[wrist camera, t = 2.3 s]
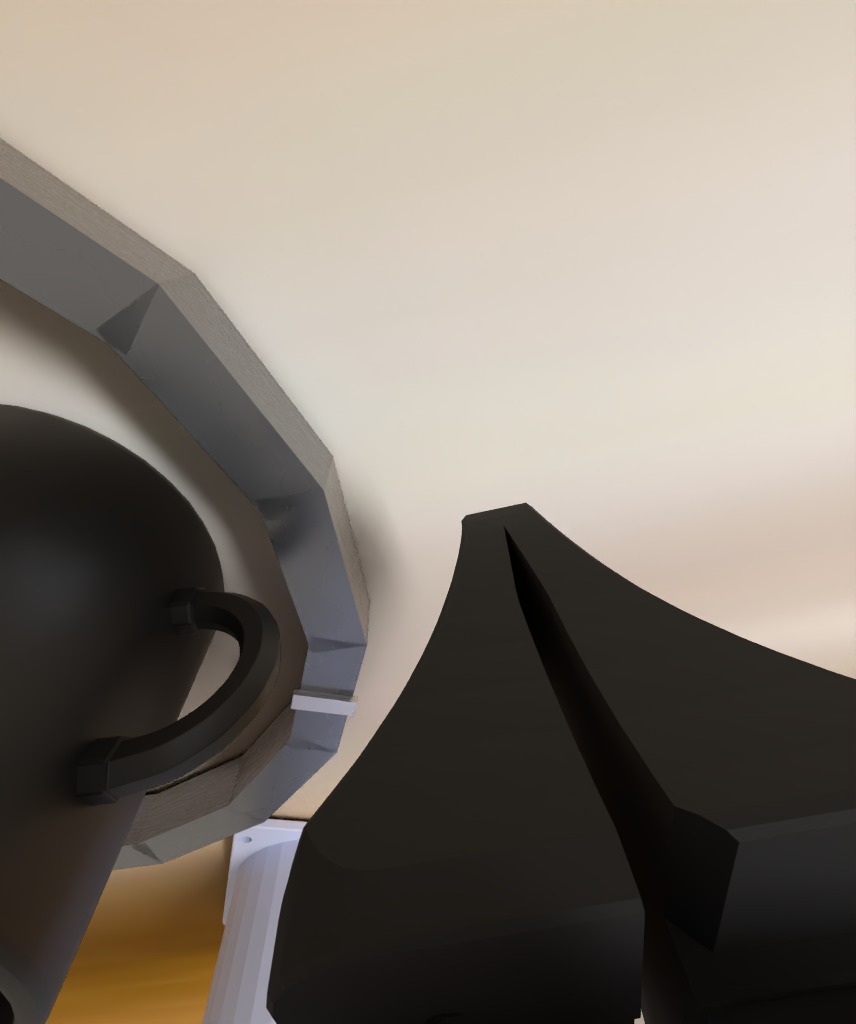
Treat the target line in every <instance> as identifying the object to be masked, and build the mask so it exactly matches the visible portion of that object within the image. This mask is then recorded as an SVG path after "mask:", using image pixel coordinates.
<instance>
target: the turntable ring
mask: <svg viewBox="0 0 856 1024" xmlns="http://www.w3.org/2000/svg"><path fill="white" fill-rule="evenodd" d="M0 279H1V280H3V281H4V282H6V283H8V284H9V285H11V286H13V287H14V288H16V289H18V290H19V291H21V292H23V293H24V294H26V295H28V296H29V297H31V298H33V299H34V300H36V301H38V302H39V303H41V304H43V305H44V306H46V307H47V308H49V309H51V310H52V311H54V312H56V313H57V314H59V315H61V316H62V317H64V318H66V319H67V320H69V321H71V322H72V323H74V324H76V325H77V326H79V327H81V328H82V329H84V330H85V331H87V332H89V333H90V334H92V335H94V336H95V337H97V338H99V339H100V340H102V341H104V342H105V343H107V344H109V345H110V346H111V347H112V348H113V349H114V351H115V352H116V353H117V354H118V355H119V356H120V357H121V358H122V359H123V361H124V362H125V363H126V364H127V365H128V366H129V367H130V368H131V369H132V370H133V372H134V373H135V374H136V375H137V376H138V377H139V378H140V379H141V380H142V381H143V383H144V384H145V385H146V386H147V387H148V388H149V389H150V390H151V391H152V393H153V394H154V395H155V396H156V397H157V398H158V399H159V400H160V401H161V402H162V404H163V405H164V406H165V407H166V408H167V409H168V410H169V411H170V412H171V413H172V415H173V416H174V417H175V418H176V419H177V420H178V421H179V422H180V423H181V425H182V426H183V427H184V428H185V429H186V430H187V431H188V432H189V433H190V434H191V436H192V437H193V438H194V439H195V440H196V441H197V442H198V443H199V444H200V445H201V447H202V448H203V449H204V450H205V451H206V452H207V453H208V454H209V455H210V457H211V458H212V459H213V460H214V461H215V462H216V463H217V464H218V465H219V466H220V468H221V469H222V470H223V471H224V472H225V473H226V474H227V475H228V476H229V477H230V479H231V480H232V481H233V482H234V483H235V484H236V485H237V486H238V487H239V489H240V490H241V491H242V492H243V493H244V494H245V495H246V496H247V497H248V498H249V500H250V501H251V502H252V503H253V504H254V505H255V506H256V507H257V508H258V509H259V511H260V512H261V514H262V517H263V520H264V523H265V525H266V528H267V531H268V534H269V536H270V539H271V542H272V545H273V548H274V550H275V553H276V556H277V559H278V561H279V564H280V567H281V570H282V572H283V575H284V578H285V581H286V583H287V586H288V589H289V592H290V594H291V597H292V600H293V603H294V606H295V608H296V611H297V614H298V617H299V619H300V622H301V625H302V628H303V630H304V633H305V636H306V639H307V641H308V644H309V646H308V651H307V656H306V662H305V667H304V672H303V677H302V682H301V687H300V690H299V689H294V694H293V699H292V702H291V703H290V704H289V705H288V706H287V707H286V708H285V709H284V710H283V711H282V713H281V714H280V715H279V716H278V717H277V718H276V719H275V720H274V721H273V723H272V724H271V725H270V726H269V727H268V728H267V729H266V730H265V731H264V732H263V734H262V735H261V736H260V737H259V738H258V739H257V740H256V741H255V742H254V744H253V745H252V746H251V747H250V748H249V749H248V750H247V751H246V752H245V753H244V755H243V756H241V757H239V758H237V759H235V760H232V761H230V762H228V763H226V764H223V765H221V766H219V767H217V768H214V769H212V770H210V771H208V772H206V773H203V774H201V775H199V776H197V777H194V778H192V779H190V780H188V781H185V782H183V783H181V784H179V785H176V786H174V787H172V788H170V789H167V790H165V791H163V792H161V793H158V794H153V795H145V796H144V798H143V800H142V802H141V804H140V807H139V809H138V811H137V814H136V816H135V818H134V821H133V823H132V825H131V828H130V830H129V832H128V835H127V837H126V839H125V841H124V844H123V846H122V848H121V851H120V853H119V855H118V858H117V860H116V862H115V865H114V867H113V869H112V870H117V869H124V868H132V867H140V866H147V865H155V864H162V863H165V862H167V861H170V860H172V859H175V858H177V857H180V856H182V855H185V854H187V853H190V852H192V851H194V850H197V849H199V848H202V847H204V846H207V845H209V844H212V843H214V842H217V841H219V840H222V839H224V838H227V837H229V836H232V835H234V834H236V833H239V832H241V831H244V830H246V829H249V828H251V827H254V826H256V825H259V824H261V823H264V822H265V821H266V820H267V819H268V818H269V817H270V816H271V815H272V814H273V813H274V812H275V811H276V810H277V809H278V808H279V807H280V806H282V805H283V804H284V803H285V802H286V801H287V800H288V799H289V798H290V797H291V796H292V795H293V794H294V793H295V792H296V791H297V790H298V789H299V788H300V787H301V786H302V785H303V784H304V783H305V782H307V781H308V780H309V779H310V778H311V777H312V776H313V775H314V774H315V773H316V772H317V771H318V770H319V769H320V768H321V767H322V766H323V765H324V764H325V763H326V762H327V761H328V760H329V759H330V758H332V757H333V756H334V755H335V754H336V753H337V750H338V747H339V743H340V739H341V736H342V732H343V729H344V725H345V721H346V718H347V715H348V716H354V712H355V709H356V705H357V699H358V697H354V696H353V693H354V689H355V686H356V682H357V678H358V675H359V671H360V668H361V664H362V660H363V657H364V653H365V650H366V646H367V636H368V620H369V605H370V600H369V596H368V592H367V588H366V584H365V580H364V576H363V572H362V568H361V564H360V561H359V557H358V553H357V549H356V545H355V541H354V537H353V533H352V529H351V525H350V521H349V517H348V514H347V510H346V506H345V502H344V498H343V494H342V490H341V486H340V482H339V478H338V474H337V471H336V467H335V463H334V459H333V456H332V454H331V453H330V452H329V450H328V449H327V448H326V446H325V445H324V444H323V442H322V441H321V440H320V439H319V437H318V436H317V435H316V433H315V432H314V431H313V429H312V428H311V427H310V425H309V424H308V423H307V421H306V420H305V419H304V417H303V416H302V415H301V413H300V412H299V411H298V409H297V408H296V407H295V405H294V404H293V403H292V402H291V400H290V399H289V398H288V396H287V395H286V394H285V392H284V391H283V390H282V388H281V387H280V386H279V384H278V383H277V382H276V380H275V379H274V378H273V376H272V375H271V374H270V372H269V371H268V370H267V369H266V367H265V366H264V365H263V363H262V362H261V361H260V359H259V358H258V357H257V355H256V354H255V353H254V351H253V350H252V349H251V347H250V346H249V345H248V343H247V342H246V341H245V339H244V338H243V337H242V335H241V334H240V333H239V332H238V330H237V329H236V328H235V326H234V325H233V324H232V322H231V321H230V320H229V318H228V317H227V316H226V314H225V313H224V312H223V310H222V309H221V308H220V306H219V305H218V304H217V302H216V301H215V300H214V298H213V297H212V296H211V295H210V293H209V292H208V291H207V289H206V288H205V287H204V285H203V284H202V283H201V281H200V280H199V279H198V277H197V276H196V275H195V273H193V272H192V271H190V270H189V269H187V268H186V267H185V266H183V265H182V264H180V263H179V262H177V261H176V260H174V259H173V258H172V257H170V256H169V255H167V254H166V253H164V252H163V251H162V250H160V249H159V248H157V247H156V246H154V245H153V244H151V243H150V242H149V241H147V240H146V239H144V238H143V237H141V236H140V235H139V234H137V233H136V232H134V231H133V230H131V229H130V228H128V227H127V226H126V225H124V224H123V223H121V222H120V221H118V220H117V219H116V218H114V217H113V216H111V215H110V214H108V213H107V212H105V211H104V210H103V209H101V208H100V207H98V206H97V205H95V204H94V203H93V202H91V201H90V200H88V199H87V198H85V197H84V196H82V195H81V194H80V193H78V192H77V191H75V190H74V189H72V188H71V187H70V186H68V185H67V184H65V183H64V182H62V181H61V180H59V179H58V178H57V177H55V176H54V175H52V174H51V173H49V172H48V171H47V170H45V169H44V168H42V167H41V166H39V165H38V164H36V163H35V162H34V161H32V160H31V159H29V158H28V157H26V156H25V155H24V154H22V153H21V152H19V151H18V150H16V149H15V148H13V147H12V146H11V145H9V144H8V143H6V142H5V141H3V140H2V139H1V138H0Z"/></svg>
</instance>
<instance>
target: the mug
mask: <svg viewBox="0 0 856 1024" xmlns="http://www.w3.org/2000/svg"><path fill="white" fill-rule="evenodd" d="M216 630H218V631H222V632H225V633H227V634H229V635H231V636H233V637H234V638H235V639H236V640H237V641H238V642H239V646H240V657H239V661H238V663H237V665H236V667H235V668H234V670H233V671H232V673H231V675H230V676H229V678H228V679H227V680H226V681H225V683H224V684H223V685H222V686H221V687H220V688H219V689H218V690H217V691H216V692H215V693H214V694H213V695H212V696H211V697H210V698H209V699H208V700H207V701H206V702H204V703H203V704H202V705H201V706H199V707H198V708H197V709H195V710H194V711H193V712H191V713H189V714H188V715H186V716H185V717H183V718H181V719H180V720H178V721H177V719H178V717H179V714H180V712H181V710H182V707H183V705H184V703H185V700H186V698H187V696H188V694H189V691H190V689H191V687H192V684H193V682H194V680H195V677H196V675H197V673H198V670H199V668H200V666H201V663H202V661H203V659H204V657H205V654H206V652H207V650H208V647H209V645H210V643H211V640H212V638H213V636H214V633H215V631H216ZM280 660H281V646H280V635H279V628H278V625H277V623H276V621H275V619H274V617H273V616H272V614H271V613H270V611H269V610H268V609H267V608H266V607H265V606H264V605H263V604H262V603H260V602H258V601H256V600H254V599H252V598H249V597H247V596H244V595H242V594H237V593H229V592H224V583H223V575H222V570H221V565H220V561H219V557H218V554H217V551H216V547H215V544H214V542H213V540H212V538H211V536H210V534H209V532H208V530H207V528H206V526H205V525H204V523H203V521H202V520H201V518H200V517H199V515H198V514H197V513H196V511H195V510H194V508H193V507H192V505H191V504H190V503H189V501H188V500H187V499H186V498H185V497H184V496H183V495H182V494H181V493H180V492H179V491H178V490H177V488H176V487H175V486H174V485H173V484H172V483H171V482H170V481H169V480H168V479H167V478H165V477H164V476H163V475H162V474H161V473H159V472H158V471H157V470H156V469H155V468H154V467H152V466H151V465H150V464H149V463H148V462H146V461H145V460H144V459H142V458H141V457H139V456H137V455H136V454H134V453H133V452H131V451H130V450H128V449H127V448H125V447H124V446H122V445H120V444H119V443H117V442H115V441H113V440H112V439H110V438H108V437H106V436H104V435H102V434H100V433H98V432H96V431H94V430H92V429H90V428H88V427H86V426H83V425H80V424H77V423H75V422H72V421H69V420H66V419H64V418H61V417H58V416H55V415H52V414H48V413H44V412H40V411H36V410H32V409H27V408H23V407H19V406H11V405H1V404H0V1024H45V1023H46V1021H47V1019H48V1017H49V1015H50V1012H51V1010H52V1008H53V1006H54V1003H55V1001H56V999H57V996H58V994H59V992H60V989H61V987H62V985H63V982H64V980H65V978H66V975H67V973H68V971H69V969H70V966H71V964H72V962H73V959H74V957H75V955H76V952H77V950H78V948H79V945H80V943H81V941H82V939H83V936H84V934H85V932H86V929H87V927H88V925H89V922H90V920H91V918H92V915H93V913H94V911H95V908H96V906H97V904H98V902H99V899H100V897H101V895H102V892H103V890H104V888H105V885H106V883H107V881H108V878H109V876H110V874H111V871H112V869H113V867H114V865H115V862H116V860H117V858H118V855H119V853H120V851H121V848H122V846H123V844H124V841H125V839H126V837H127V835H128V832H129V830H130V828H131V825H132V823H133V821H134V818H135V816H136V814H137V811H138V809H139V807H140V804H141V802H142V800H143V798H144V795H145V793H146V791H147V790H148V789H151V788H155V787H158V786H161V785H163V784H166V783H169V782H171V781H173V780H175V779H177V778H180V777H181V776H183V775H185V774H187V773H188V772H190V771H192V770H193V769H195V768H196V767H198V766H200V765H201V764H203V763H204V762H206V761H207V760H209V759H210V758H212V757H213V756H215V755H216V754H218V753H219V752H220V751H222V750H223V749H224V748H225V747H226V746H228V745H229V744H230V743H231V742H232V741H233V740H234V739H235V738H236V737H237V736H238V735H239V734H240V733H241V732H242V730H243V729H244V728H245V727H246V726H247V725H248V724H249V723H250V722H251V721H252V719H253V718H254V717H255V716H256V715H257V714H258V712H259V711H260V709H261V708H262V706H263V705H264V703H265V701H266V700H267V698H268V696H269V694H270V692H271V689H272V687H273V685H274V683H275V681H276V678H277V676H278V673H279V669H280Z"/></svg>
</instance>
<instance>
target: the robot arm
mask: <svg viewBox="0 0 856 1024" xmlns="http://www.w3.org/2000/svg"><path fill="white" fill-rule="evenodd" d="M461 522H462V537H461V544H460V549H459V555H458V559H457V563H456V567H455V571H454V575H453V579H452V582H451V585H450V588H449V591H448V594H447V597H446V600H445V602H444V605H443V608H442V611H441V614H440V616H439V619H438V621H437V624H436V626H435V629H434V631H433V633H432V635H431V638H430V640H429V642H428V644H427V646H426V648H425V650H424V652H423V654H422V656H421V658H420V660H419V662H418V664H417V666H416V668H415V669H414V671H413V673H412V675H411V677H410V679H409V681H408V682H407V684H406V686H405V688H404V689H403V691H402V693H401V695H400V696H399V698H398V700H397V701H396V703H395V704H394V706H393V708H392V709H391V711H390V712H389V714H388V715H387V717H386V718H385V719H384V721H383V722H382V724H381V725H380V727H379V728H378V730H377V731H376V733H375V734H374V736H373V737H372V739H371V740H370V742H369V743H368V745H367V746H366V748H365V749H364V751H363V752H362V753H361V755H360V756H359V758H358V759H357V760H356V762H355V763H354V764H353V766H352V767H351V768H350V769H349V771H348V772H347V773H346V775H345V776H344V777H343V778H342V780H341V781H340V782H339V783H338V785H337V786H336V787H335V788H334V790H333V791H332V792H331V793H330V795H329V796H328V797H327V798H326V800H325V801H324V802H323V804H322V805H321V806H320V807H319V809H318V810H317V811H316V812H315V814H314V815H313V816H312V817H311V818H310V820H309V821H308V822H303V821H291V820H278V819H267V820H266V821H265V822H264V823H261V824H259V825H256V826H254V827H251V828H249V829H246V830H244V831H241V832H239V833H236V834H234V835H233V842H232V850H231V858H230V866H229V873H228V881H227V889H226V897H225V905H224V913H223V921H222V922H223V924H224V925H225V929H224V933H223V937H222V942H221V946H220V950H219V954H218V958H217V963H216V967H215V971H214V975H213V979H212V983H211V988H210V992H209V996H208V1000H207V1004H206V1009H205V1013H204V1017H203V1021H202V1024H634V1019H637V1018H640V1017H641V1010H642V1013H643V1017H644V1021H645V1024H856V679H853V678H850V677H847V676H843V675H841V674H838V673H835V672H832V671H829V670H826V669H823V668H821V667H818V666H815V665H812V664H810V663H807V662H804V661H801V660H799V659H796V658H793V657H790V656H788V655H785V654H782V653H779V652H777V651H774V650H772V649H769V648H767V647H764V646H762V645H759V644H757V643H754V642H752V641H749V640H747V639H744V638H742V637H739V636H737V635H735V634H733V633H730V632H728V631H726V630H724V629H721V628H719V627H717V626H715V625H712V624H710V623H708V622H706V621H703V620H701V619H699V618H697V617H695V616H693V615H691V614H689V613H687V612H685V611H683V610H680V609H678V608H677V607H675V606H673V605H671V604H669V603H667V602H665V601H663V600H662V599H660V598H658V597H656V596H654V595H652V594H650V593H649V592H647V591H645V590H643V589H641V588H640V587H638V586H636V585H635V584H633V583H632V582H630V581H628V580H627V579H625V578H624V577H622V576H621V575H619V574H618V573H616V572H614V571H613V570H611V569H610V568H608V567H607V566H605V565H604V564H603V563H601V562H600V561H598V560H597V559H595V558H594V557H593V556H591V555H590V554H589V553H587V552H586V551H585V550H583V549H582V548H581V547H579V546H578V545H577V544H575V543H574V542H573V541H571V540H570V539H569V538H568V537H566V536H565V535H564V534H563V533H561V532H560V531H559V530H558V529H556V528H555V527H554V526H553V525H552V524H551V523H549V522H548V521H547V520H546V519H545V518H544V517H543V516H541V515H540V514H539V513H538V512H537V511H536V510H535V509H534V508H533V507H531V506H530V505H528V504H527V503H522V504H518V505H513V506H508V507H503V508H499V509H494V510H489V511H484V512H480V513H475V514H470V515H466V516H465V517H464V519H463V520H462V521H461Z"/></svg>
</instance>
